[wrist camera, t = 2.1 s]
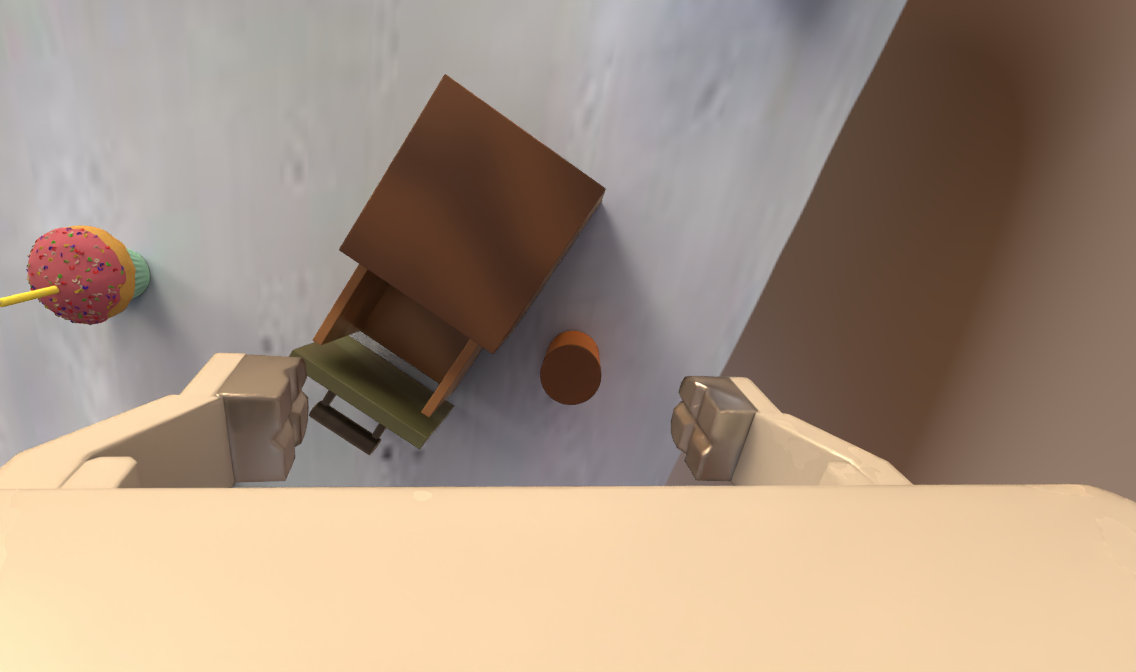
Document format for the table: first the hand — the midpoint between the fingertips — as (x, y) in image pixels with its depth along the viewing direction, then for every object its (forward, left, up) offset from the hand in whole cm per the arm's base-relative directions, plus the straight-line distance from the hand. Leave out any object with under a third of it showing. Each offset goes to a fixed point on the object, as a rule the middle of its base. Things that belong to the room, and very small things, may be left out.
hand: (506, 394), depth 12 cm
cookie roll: (+6, +5, -39) cm, 40 cm away
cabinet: (0, -8, -39) cm, 40 cm away
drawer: (+13, -8, -38) cm, 41 cm away
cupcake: (+24, -35, -39) cm, 58 cm away
